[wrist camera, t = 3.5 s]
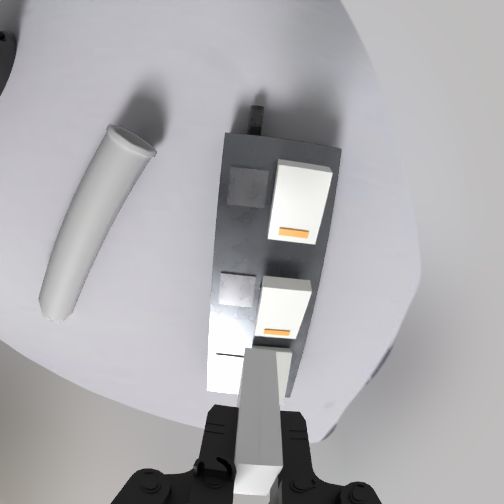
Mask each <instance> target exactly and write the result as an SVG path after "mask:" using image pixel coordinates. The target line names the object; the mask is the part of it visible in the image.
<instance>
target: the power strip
mask: <svg viewBox="0 0 504 504" xmlns="http://www.w3.org/2000/svg"><path fill="white" fill-rule="evenodd" d="M263 113H264V107H262V106H251V111H250V119H249V127H248V135H247V134H236V133H225V138H224V147H223V156H222V166H221V175H220V186H219V196H218V207H217V219H216V231H215V243H214V257H213V272H212V287H211V305H210V324H209V347H208V377H207V391H215V392H223V393H232V394H238V392H239V384H240V378H241V371H242V365H243V358H244V352H245V347H246V348H252V345H254V346H265V347H278V348H290V349H291V351H292V358H291V364H290V370H289V376H288V382H287V388H286V393H285V397H290V395H291V392H292V389H293V385H294V382H295V378H296V375H297V371H298V368H299V364H300V360H301V357H302V353H303V349H304V345H305V341H306V337H307V333H308V329H309V325H310V321H311V317H312V313H313V308H314V304H315V300H316V295H317V291H318V286H319V282H320V277H321V272H322V267H323V262H324V257H325V252H326V247H327V241H328V236H329V230H330V225H331V219H332V213H333V207H334V200H335V194H336V187H337V180H338V173H339V166H340V158H341V150H342V149H340V148H335V147H330V146H325V145H319V144H313V143H307V142H301V141H295V140H288V139H281V138H273V137H265V136H261V130H262V121H263ZM278 159H281V160H288V161H295V162H302V163H308V164H314V165H320V166H326V167H329V168H330V169H331V171H332V173H333V174H332V178H331V183H330V187H329V191H328V195H327V200H326V204H325V208H324V212H323V216H322V220H321V224H320V228H319V231H318V235H317V239H316V243H315V244H306V243H298V242H289V241H281V240H272V239H268V225H269V218H270V212H271V205H272V199H273V192H274V185H275V179H276V172H277V165H278ZM263 276H272V277H282V278H292V279H302V280H310V282H311V289H312V293H311V296H310V299H309V302H308V305H307V308H306V311H305V314H304V317H303V320H302V323H301V325H300V328H299V331H298V334H297V337H296V339H290V338H276V337H264V336H254V333H255V321H256V316H257V310H258V304H259V298H260V293H261V287H262V281H263Z"/></svg>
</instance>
